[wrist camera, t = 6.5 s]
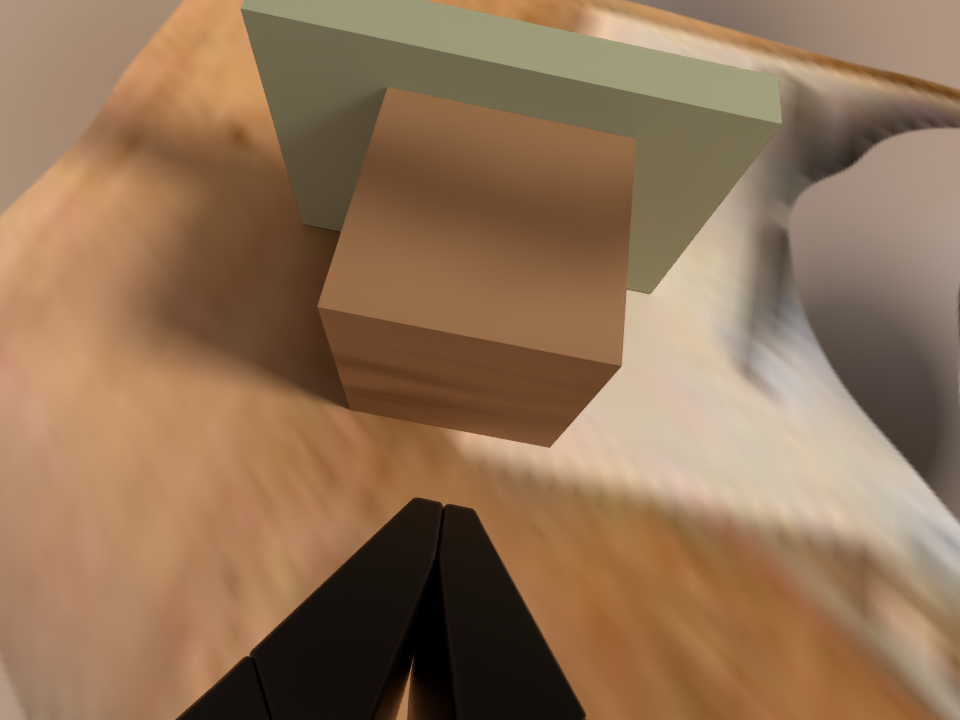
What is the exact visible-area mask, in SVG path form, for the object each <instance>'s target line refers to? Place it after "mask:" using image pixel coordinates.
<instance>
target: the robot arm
mask: <svg viewBox="0 0 960 720" xmlns="http://www.w3.org/2000/svg"><path fill="white" fill-rule="evenodd" d="M413 656H414V657H413ZM412 660H413V663H412ZM411 665H412V670H411V677H410V688H409V700H408V715H407V720H585V718H586V713H585V711H584V709H583V707H582V706H581V704H580V702H579V700H578V698H577V696H576V695H575V693H574V691H573V689H572V687H571V685H570V684H569V682H568V680H567V678H566V676H565V674H564V673H563V671H562V669H561V667H560V665H559V663H558V662H557V660H556V658H555V656H554V654H553V652H552V651H551V649H550V647H549V645H548V643H547V641H546V640H545V638H544V636H543V634H542V632H541V630H540V629H539V627H538V625H537V623H536V621H535V620H534V618H533V616H532V614H531V612H530V610H529V609H528V607H527V605H526V603H525V601H524V599H523V598H522V596H521V594H520V592H519V590H518V588H517V587H516V585H515V583H514V581H513V579H512V577H511V576H510V574H509V572H508V570H507V568H506V566H505V565H504V563H503V561H502V559H501V557H500V555H499V554H498V552H497V550H496V548H495V546H494V545H493V543H492V541H491V539H490V537H489V535H488V534H487V532H486V530H485V528H484V526H483V524H482V523H481V521H480V519H479V517H478V515H477V513H476V512H475V511H474V510H473V509H471V508H467V507H462V506H457V505H452V504H447V505H445V506H444V509H443V505H442V504H441V503H440V502H437V501H432V500H427V499H423V498H414V499H412V500H411V501H410V502H409V503H408V504H407V505H406V506H405V507H404V508H402V509H401V510H400V511H399V512H398V513H397V514H396V515H395V516H394V517H393V518H392V519H391V520H390V521H389V522H388V523H387V524H385V525H384V526H383V527H382V528H381V529H380V530H379V531H378V532H377V533H376V534H375V535H374V536H373V537H372V538H371V539H369V540H368V541H367V542H366V543H365V544H364V545H363V546H362V547H361V548H360V549H359V550H358V551H357V552H356V553H355V554H354V555H352V556H351V557H350V558H349V559H348V560H347V561H346V562H345V563H344V564H343V565H342V566H341V567H340V568H339V569H338V570H337V571H335V572H334V573H333V574H332V575H331V576H330V577H329V578H328V579H327V580H326V581H325V582H324V583H323V584H322V585H321V586H320V587H318V588H317V589H316V590H315V591H314V592H313V593H312V594H311V595H310V596H309V597H308V598H307V599H306V600H305V601H304V602H303V603H301V604H300V605H299V606H298V607H297V608H296V609H295V610H294V611H293V612H292V613H291V614H290V615H289V616H288V617H287V618H286V619H284V620H283V621H282V622H281V623H280V624H279V625H278V626H277V627H276V628H275V629H274V630H273V631H272V632H271V633H270V634H268V635H267V636H266V637H265V638H264V639H263V640H262V641H261V642H260V643H259V644H258V645H257V646H256V647H255V648H254V649H253V650H251V652H250V655H249V656H245V657H244V658H242V659H241V660H240V661H239V662H238V663H237V664H236V665H235V666H234V667H233V668H232V669H231V670H230V671H229V672H228V673H227V674H226V675H224V676H223V677H222V678H221V679H220V680H219V681H218V682H217V683H216V684H215V685H214V686H213V687H212V688H210V689H209V690H208V691H207V692H206V693H205V694H204V695H203V696H201V697H200V698H199V699H198V700H197V701H196V702H195V703H193V704H192V705H191V706H190V707H189V708H188V709H187V710H186V711H184V712H183V713H182V714H181V715H180V716H179V717H178V718H177V719H175V720H396V717H397V714H398V711H399V708H400V704H401V701H402V698H403V695H404V691H405V688H406V684H407V681H408V677H409V673H410V669H411Z"/></svg>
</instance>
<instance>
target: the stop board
mask: <svg viewBox="0 0 960 720" xmlns="http://www.w3.org/2000/svg"><path fill="white" fill-rule="evenodd" d="M241 12H242V15H243V19H244V22H245V26H246V29H247V33H248V36H249V40H250V43H251V47H252V50H253V54H254V57H255V61H256V64H257V68H258V71H259V75H260V78H261V81H262V85H263V88H264V92H265V95H266V99H267V102H268V106H269V109H270V113H271V116H272V120H273V123H274V127H275V130H276V134H277V137H278V141H279V144H280V147H281V151H282V154H283V158H284V161H285V165H286V168H287V172H288V175H289V179H290V182H291V186H292V189H293V193H294V196H295V200H296V203H297V207H298V210H299V213H300V217H301V220H302V224H305V225H310V226H315V227H320V228H325V229H330V230H335V231H340V232H341V231H342V228H343V225H344V221H345V218H346V215H347V212H348V209H349V206H350V203H351V200H352V197H353V193H354V190H355V187H356V184H357V181H358V178H359V175H360V172H361V168H362V165H363V162H364V159H365V156H366V153H367V150H368V147H369V144H370V140H371V137H372V134H373V131H374V128H375V125H376V122H377V119H378V115H379V112H380V109H381V106H382V103H383V100H384V97H385V94H386V91H387V87H392V88H396V89H401V90H406V91H411V92H415V93H420V94H425V95H430V96H435V97H439V98H444V99H449V100H454V101H458V102H463V103H468V104H473V105H477V106H482V107H487V108H492V109H497V110H501V111H506V112H511V113H516V114H520V115H525V116H530V117H535V118H539V119H544V120H549V121H554V122H559V123H563V124H568V125H573V126H578V127H582V128H587V129H592V130H597V131H601V132H606V133H611V134H616V135H621V136H625V137H630V138H635V139H636V147H635V163H634V178H633V194H632V210H631V225H630V241H629V257H628V273H627V288H626V289H629V290H634V291H639V292H644V293H649V294H651V293H652V292H653V290H654V289H655V288H656V287H657V285H658V284H659V283H660V281H661V280H662V279H663V277H664V276H665V275H666V274H667V272H668V271H669V270H670V268H671V267H672V266H673V264H674V263H675V262H676V261H677V259H678V258H679V257H680V255H681V254H682V253H683V252H684V250H685V249H686V248H687V246H688V245H689V244H690V242H691V241H692V240H693V239H694V237H695V236H696V235H697V233H698V232H699V231H700V229H701V228H702V227H703V226H704V224H705V223H706V222H707V220H708V219H709V218H710V217H711V215H712V214H713V213H714V211H715V210H716V209H717V207H718V206H719V205H720V204H721V202H722V201H723V200H724V198H725V197H726V196H727V194H728V193H729V192H730V191H731V189H732V188H733V187H734V185H735V184H736V183H737V182H738V180H739V179H740V178H741V176H742V175H743V174H744V172H745V171H746V170H747V169H748V167H749V166H750V165H751V163H752V162H753V161H754V160H755V158H756V157H757V156H758V154H759V153H760V152H761V150H762V149H763V148H764V147H765V145H766V144H767V143H768V141H769V140H770V139H771V137H772V136H773V135H774V134H775V132H776V131H777V130H778V128H779V127H780V126H781V125H782V119H781V106H780V94H779V81H778V77H777V76H772V75H768V74H763V73H759V72H754V71H749V70H745V69H740V68H736V67H731V66H726V65H722V64H717V63H712V62H708V61H703V60H699V59H694V58H689V57H685V56H680V55H676V54H671V53H666V52H662V51H657V50H653V49H648V48H643V47H639V46H634V45H629V44H625V43H620V42H616V41H611V40H606V39H602V38H597V37H593V36H588V35H583V34H579V33H574V32H569V31H565V30H560V29H556V28H551V27H546V26H542V25H537V24H533V23H528V22H523V21H519V20H514V19H509V18H505V17H500V16H496V15H491V14H486V13H482V12H477V11H473V10H468V9H463V8H459V7H454V6H449V5H445V4H440V3H436V2H431V1H426V0H244V2H243V4H242V6H241Z"/></svg>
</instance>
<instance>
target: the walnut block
mask: <svg viewBox="0 0 960 720" xmlns="http://www.w3.org/2000/svg"><path fill="white" fill-rule="evenodd" d="M635 147H636V139H635V138H630V137H625V136H621V135H616V134H611V133H606V132H601V131H597V130H592V129H587V128H582V127H578V126H573V125H568V124H563V123H559V122H554V121H549V120H544V119H539V118H535V117H530V116H525V115H520V114H516V113H511V112H506V111H501V110H497V109H492V108H487V107H482V106H477V105H473V104H468V103H463V102H458V101H454V100H449V99H444V98H439V97H435V96H430V95H425V94H420V93H415V92H411V91H406V90H401V89H396V88H392V87H387V91H386V94H385V97H384V100H383V103H382V106H381V109H380V112H379V115H378V119H377V122H376V125H375V128H374V131H373V134H372V137H371V140H370V144H369V147H368V150H367V153H366V156H365V159H364V162H363V165H362V168H361V172H360V175H359V178H358V181H357V184H356V187H355V190H354V193H353V197H352V200H351V203H350V206H349V209H348V212H347V215H346V218H345V221H344V225H343V228H342V231H341V234H340V237H339V240H338V243H337V246H336V250H335V253H334V256H333V259H332V262H331V265H330V268H329V271H328V274H327V278H326V281H325V284H324V287H323V290H322V293H321V296H320V299H319V303H318V306H317V308H318V311H319V314H320V318H321V321H322V324H323V327H324V330H325V333H326V336H327V339H328V342H329V345H330V349H331V352H332V355H333V358H334V361H335V364H336V367H337V370H338V373H339V377H340V380H341V383H342V386H343V389H344V392H345V395H346V398H347V401H348V405H349V408H350V410H353V411H359V412H364V413H369V414H374V415H380V416H385V417H390V418H396V419H401V420H406V421H411V422H417V423H422V424H427V425H433V426H438V427H443V428H449V429H454V430H459V431H464V432H470V433H475V434H480V435H486V436H491V437H496V438H501V439H507V440H512V441H517V442H523V443H528V444H533V445H539V446H544V447H549V448H550V447H551V446H552V445H553V443H554V442H555V441H556V440H557V439H558V438H559V437H560V435H561V434H562V433H563V432H564V431H565V430H566V429H567V428H568V426H569V425H570V424H571V423H572V422H573V421H574V420H575V418H576V417H577V416H578V415H579V414H580V413H581V412H582V410H583V409H584V408H585V407H586V406H587V405H588V404H589V403H590V401H591V400H592V399H593V398H594V397H595V396H596V395H597V393H598V392H599V391H600V390H601V389H602V388H603V387H604V386H605V384H606V383H607V382H608V381H609V380H610V379H611V378H612V376H613V375H614V374H615V373H616V372H617V371H618V370H619V369H620V367H621V366H622V351H623V335H624V320H625V304H626V288H627V273H628V257H629V241H630V225H631V210H632V194H633V178H634V163H635Z"/></svg>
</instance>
